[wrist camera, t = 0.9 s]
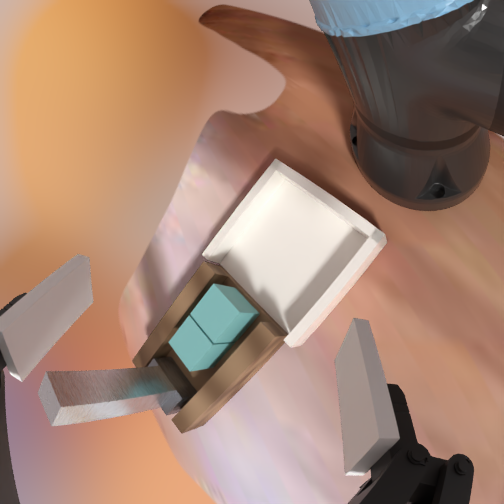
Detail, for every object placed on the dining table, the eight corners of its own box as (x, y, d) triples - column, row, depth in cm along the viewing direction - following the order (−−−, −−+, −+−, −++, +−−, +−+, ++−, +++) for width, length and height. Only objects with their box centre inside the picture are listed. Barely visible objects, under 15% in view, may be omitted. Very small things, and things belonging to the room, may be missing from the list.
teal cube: (235, 287, 33) (213, 283, 29) (260, 313, 31) (239, 312, 27) (213, 315, 33) (190, 313, 30) (236, 341, 31) (213, 343, 28)
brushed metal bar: (171, 356, 35) (42, 360, 20) (199, 394, 32) (66, 419, 18) (157, 374, 36) (33, 382, 21) (183, 410, 33) (57, 437, 18)
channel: (224, 267, 36) (204, 261, 32) (291, 335, 30) (275, 336, 27) (154, 359, 38) (132, 360, 35) (203, 425, 33) (181, 433, 29)
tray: (286, 170, 34) (275, 158, 32) (387, 242, 28) (384, 234, 25) (217, 259, 36) (201, 254, 34) (301, 345, 30) (290, 347, 27)
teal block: (212, 316, 33) (189, 315, 30) (234, 342, 31) (212, 344, 28) (192, 341, 34) (168, 342, 31) (213, 367, 32) (189, 371, 29)
